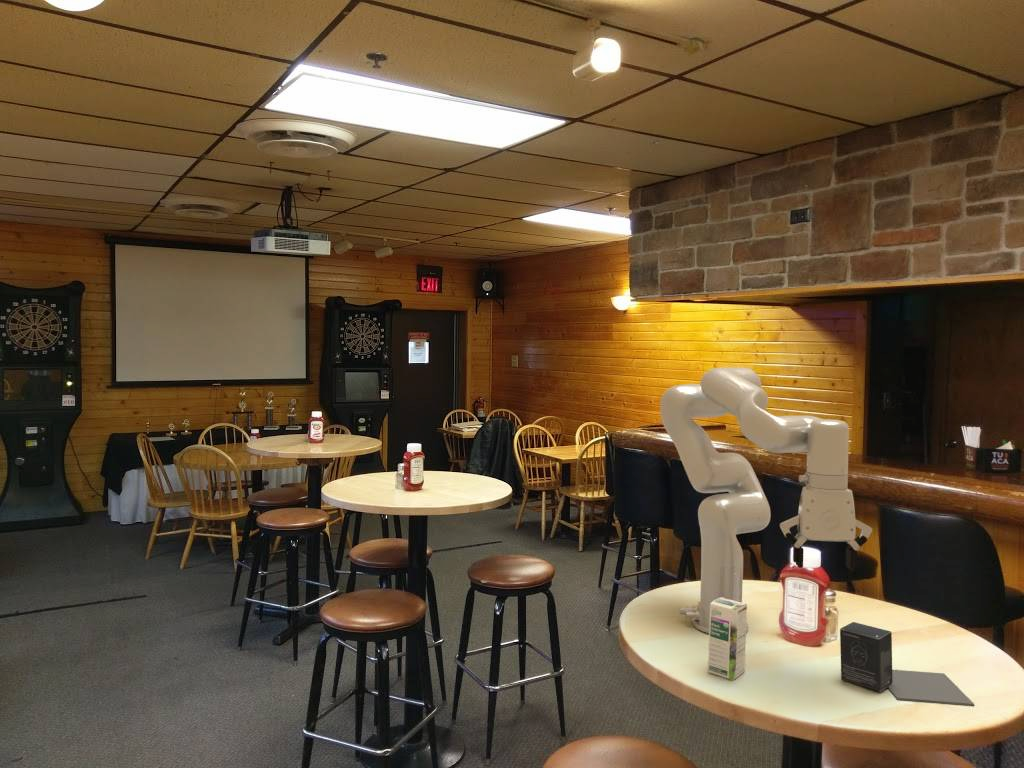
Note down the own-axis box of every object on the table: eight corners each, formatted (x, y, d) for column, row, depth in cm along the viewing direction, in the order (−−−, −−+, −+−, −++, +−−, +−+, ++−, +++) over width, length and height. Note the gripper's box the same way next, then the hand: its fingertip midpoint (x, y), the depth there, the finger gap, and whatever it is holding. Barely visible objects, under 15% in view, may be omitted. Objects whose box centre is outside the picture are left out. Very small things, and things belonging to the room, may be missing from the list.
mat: (897, 699, 140) (897, 697, 140) (873, 670, 153) (874, 668, 153) (974, 706, 138) (974, 703, 138) (944, 675, 151) (944, 673, 151)
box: (893, 683, 145) (892, 630, 145) (879, 692, 142) (879, 638, 141) (853, 671, 151) (852, 620, 151) (840, 679, 148) (839, 627, 147)
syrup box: (706, 672, 150) (708, 602, 149) (719, 663, 155) (721, 595, 154) (733, 681, 146) (735, 609, 146) (745, 671, 151) (747, 602, 150)
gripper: (785, 483, 144) (783, 570, 144) (879, 486, 141) (877, 575, 142) (777, 477, 151) (775, 560, 152) (866, 480, 149) (863, 564, 149)
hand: (824, 567), depth 147 cm, fingers open, 9 cm apart
